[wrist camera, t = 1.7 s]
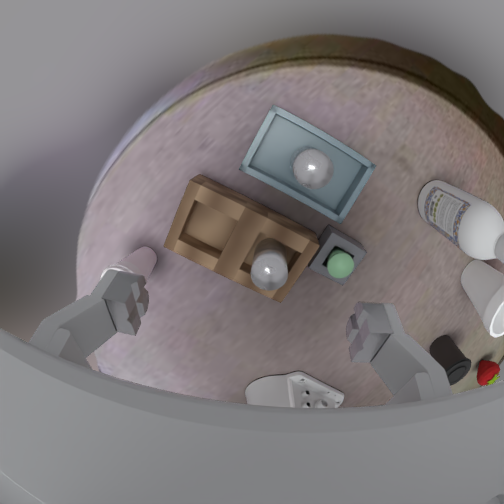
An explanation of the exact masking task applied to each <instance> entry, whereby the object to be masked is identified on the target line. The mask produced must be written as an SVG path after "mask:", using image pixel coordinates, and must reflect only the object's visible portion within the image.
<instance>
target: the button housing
mask: <svg viewBox="0 0 504 504" xmlns="http://www.w3.org/2000/svg"><path fill="white" fill-rule="evenodd" d="M318 242H319V245H320V246H319V248H318V249H317V251H316V252H315V254H314V255H313V257H312V258H311V260H310V261H309V263H308V267H309V268H310V269H312V270H314V271H316V272H317V273H319V274H321V275H323V276H325V277H327V278H329V279H331V280H333V281H335V282H337V283H339V284H341V285H344V284H345V282H346V281H347V280H348V278H349V277H350V276H351V274H352V273H353V271H354V270H355V269H356V267H357V266H358V265H359V263H360V262H361V260H362V259H363V258H364V256H365V255H366V253H367V252H366V250H365V249H364V247H363V246H362V244H361V243H359V242H357V241H356V240H354V239H352V238H351V237H349V236H347V235H346V234H344V233H342V232H340V231H339V230H337V229H335V228H333V227H332V226H330V225H328V226H327V228H326V229H325V231H324V232H323V234H322V236H321V237H320V239H319V240H318ZM335 245H336V246H338V247H340V248H342V249H344V250H345V251H347V252H346V253H347V254H349V255H350V256H351V258H352V259H353V262H354V268H353V270H352V272H351V273H350V274H349V275H348V276H346V277H344V278H335V277H333V276H331V275H330V274H329V272H328V269H327V262H328V260H327V259H326V258H327V256H328V255H329V253H330V252H331V250H332V249H333V247H334V246H335Z"/></svg>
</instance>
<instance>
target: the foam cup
mask: <svg viewBox="0 0 504 504" xmlns="http://www.w3.org/2000/svg"><path fill="white" fill-rule="evenodd" d="M461 284H462V287H463V289H464V290H465V292H466V293H467V295H468V297H469V298H470V300H471V302H472V303H473V305H474V307H475V309H476V310H477V312H478V314H479V316H480V317H481V319H482V321H483V323H484V327H485V328H486V330H487V331H488V332H489V334H490V335H491V336H493V337H498V336H502V335H503V334H504V274H502V273H501V272H499V271H497V270H496V269H494V268H493V267H491V266H489V265H488V264H486V263H484V262H483V261H480V260H473V261H472V262H470V263H469V264H468V265H467V266H466V267H465V269H464V271H463V273H462V276H461Z"/></svg>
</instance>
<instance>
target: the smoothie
mask: <svg viewBox="0 0 504 504" xmlns="http://www.w3.org/2000/svg"><path fill="white" fill-rule="evenodd" d="M156 262H157V256H156V254H155V252H154V251H153V250H152V249H151V248H149V247H146V246H143V247H141V248H139V249H137V250H136V251H134V252H133V253H131V254H130V255H128V256H127V257H125V258H124V259H122V260H121V261H119V262H118V263H116V264H114V265H110V266H108V267H107V268H106V269H105V271H104V272H103V273H102V275H101V278H102V277H103V276H104V274H105V273H106V271H107V270H109V269H113V270H118V271H124V272H129V273H134V274H140V275H143V276H145V280H146V282H147V280H148V278H149V276H150V274H151V272H152V270H153V268H154V266H155V264H156Z"/></svg>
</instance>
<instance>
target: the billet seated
mask: <svg viewBox="0 0 504 504" xmlns="http://www.w3.org/2000/svg"><path fill="white" fill-rule="evenodd" d="M287 278H288V269H287V255H286V248H285V246H284V245H283V244H282V243H281V242H279V241H277V240H275V239H273V238H267V239H264V240H262V241H260V242H259V243H258V244H257V245H256V247H255V250H254V256H253V262H252V268H251V279H252V281H253V283H254V284H255V285H256V286H257V287H259V288H260V289H263V290H268V291H271V290H276V289H279V288H280V287H282V286H283V285H284V284H285V282H286V281H287Z"/></svg>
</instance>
